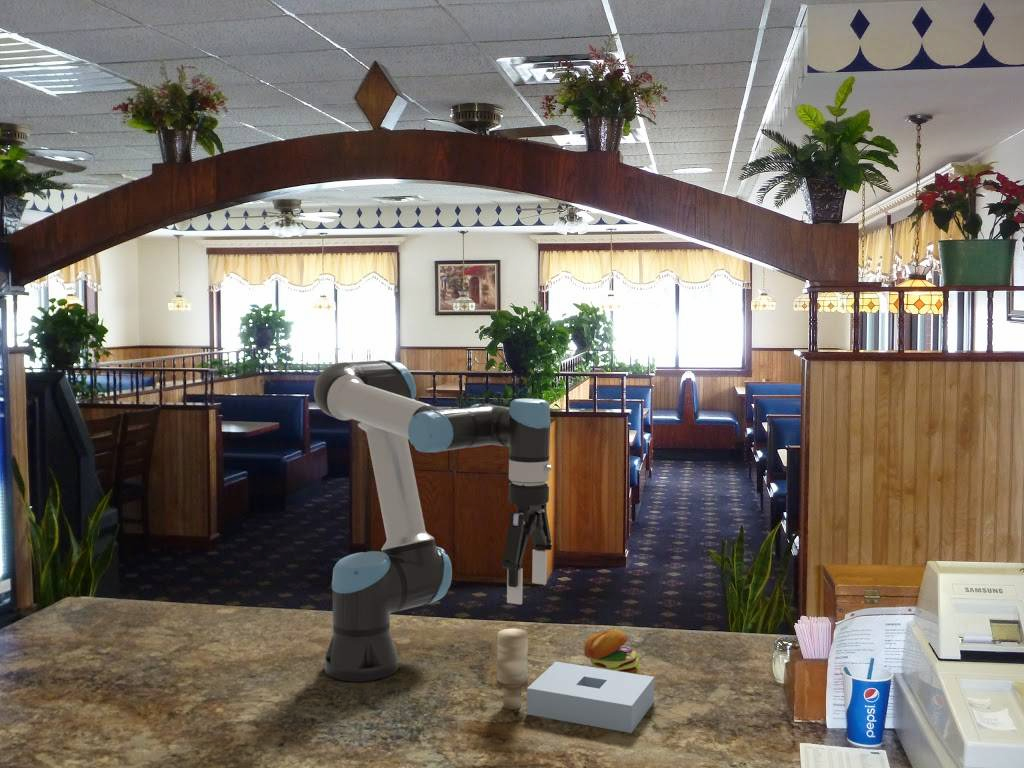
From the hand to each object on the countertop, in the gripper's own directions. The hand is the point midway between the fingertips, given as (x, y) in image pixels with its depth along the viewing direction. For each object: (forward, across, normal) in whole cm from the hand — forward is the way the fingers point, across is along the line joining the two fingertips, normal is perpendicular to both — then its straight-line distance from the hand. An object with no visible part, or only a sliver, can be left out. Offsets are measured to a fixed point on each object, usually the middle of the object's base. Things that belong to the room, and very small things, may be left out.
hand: (527, 593), depth 190 cm
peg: (+21, -3, +2) cm, 21 cm away
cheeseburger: (+21, +20, -11) cm, 32 cm away
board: (+21, +1, -13) cm, 25 cm away
